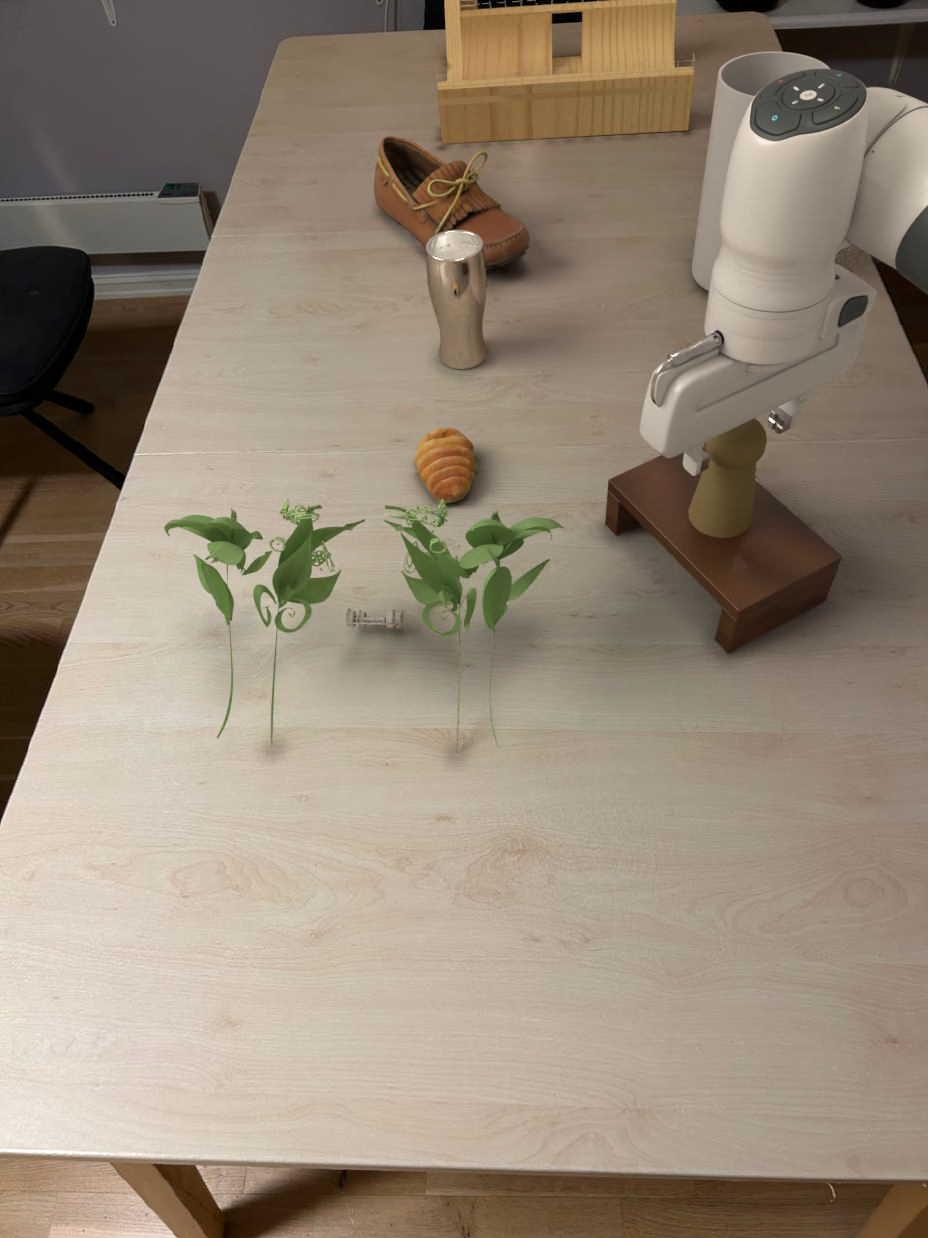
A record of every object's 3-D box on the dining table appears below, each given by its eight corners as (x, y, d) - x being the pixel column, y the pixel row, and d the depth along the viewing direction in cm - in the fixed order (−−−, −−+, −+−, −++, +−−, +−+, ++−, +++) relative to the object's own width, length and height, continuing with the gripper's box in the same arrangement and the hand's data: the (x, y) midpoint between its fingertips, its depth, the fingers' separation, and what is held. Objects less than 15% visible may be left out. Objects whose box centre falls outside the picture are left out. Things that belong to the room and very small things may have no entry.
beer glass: (459, 379, 115) (449, 268, 103) (424, 354, 119) (411, 244, 107) (502, 354, 118) (497, 244, 106) (466, 331, 121) (458, 221, 109)
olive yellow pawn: (761, 504, 90) (785, 415, 81) (739, 546, 87) (760, 457, 78) (702, 485, 92) (718, 395, 83) (678, 524, 89) (692, 436, 80)
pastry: (484, 502, 102) (482, 476, 99) (423, 512, 101) (419, 486, 98) (471, 445, 107) (468, 419, 104) (413, 454, 107) (409, 429, 104)
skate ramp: (441, 150, 154) (432, 44, 141) (450, 53, 175) (442, -47, 162) (687, 136, 151) (700, 27, 138) (666, 40, 172) (676, -63, 159)
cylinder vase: (683, 296, 123) (710, 95, 103) (698, 245, 130) (725, 48, 110) (782, 307, 120) (828, 102, 100) (791, 254, 127) (836, 54, 107)
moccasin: (540, 277, 128) (540, 190, 118) (458, 305, 125) (451, 219, 115) (443, 181, 146) (436, 100, 136) (370, 204, 143) (357, 122, 133)
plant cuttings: (559, 745, 90) (563, 515, 90) (560, 771, 73) (565, 488, 73) (209, 733, 94) (214, 512, 94) (132, 756, 77) (139, 486, 77)
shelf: (696, 480, 101) (704, 434, 96) (826, 600, 90) (843, 556, 85) (604, 524, 98) (608, 479, 93) (727, 654, 87) (739, 611, 82)
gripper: (681, 383, 67) (664, 517, 78) (894, 285, 72) (850, 423, 83) (629, 340, 71) (620, 473, 82) (836, 249, 76) (801, 387, 87)
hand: (738, 448), depth 82 cm, fingers open, 8 cm apart
